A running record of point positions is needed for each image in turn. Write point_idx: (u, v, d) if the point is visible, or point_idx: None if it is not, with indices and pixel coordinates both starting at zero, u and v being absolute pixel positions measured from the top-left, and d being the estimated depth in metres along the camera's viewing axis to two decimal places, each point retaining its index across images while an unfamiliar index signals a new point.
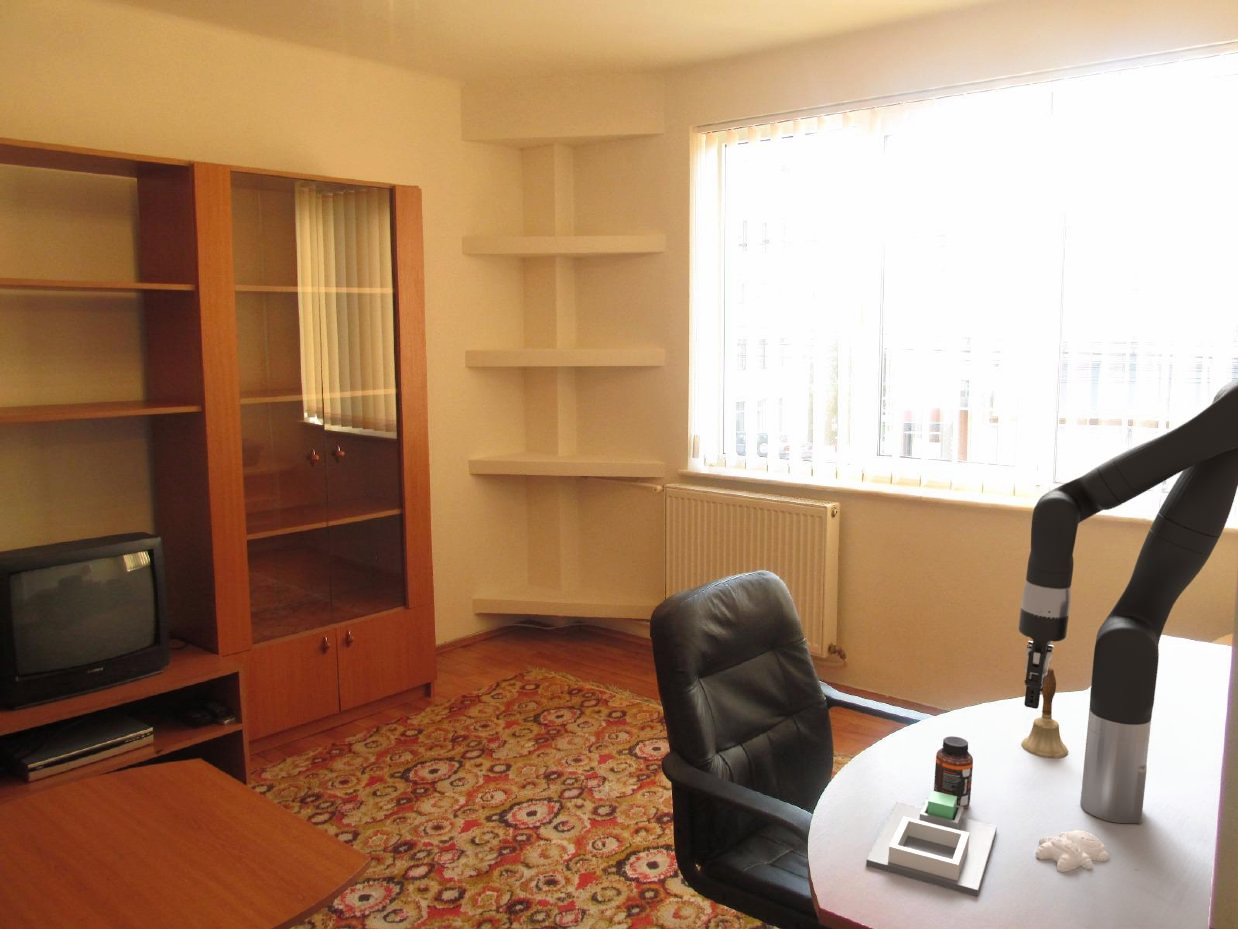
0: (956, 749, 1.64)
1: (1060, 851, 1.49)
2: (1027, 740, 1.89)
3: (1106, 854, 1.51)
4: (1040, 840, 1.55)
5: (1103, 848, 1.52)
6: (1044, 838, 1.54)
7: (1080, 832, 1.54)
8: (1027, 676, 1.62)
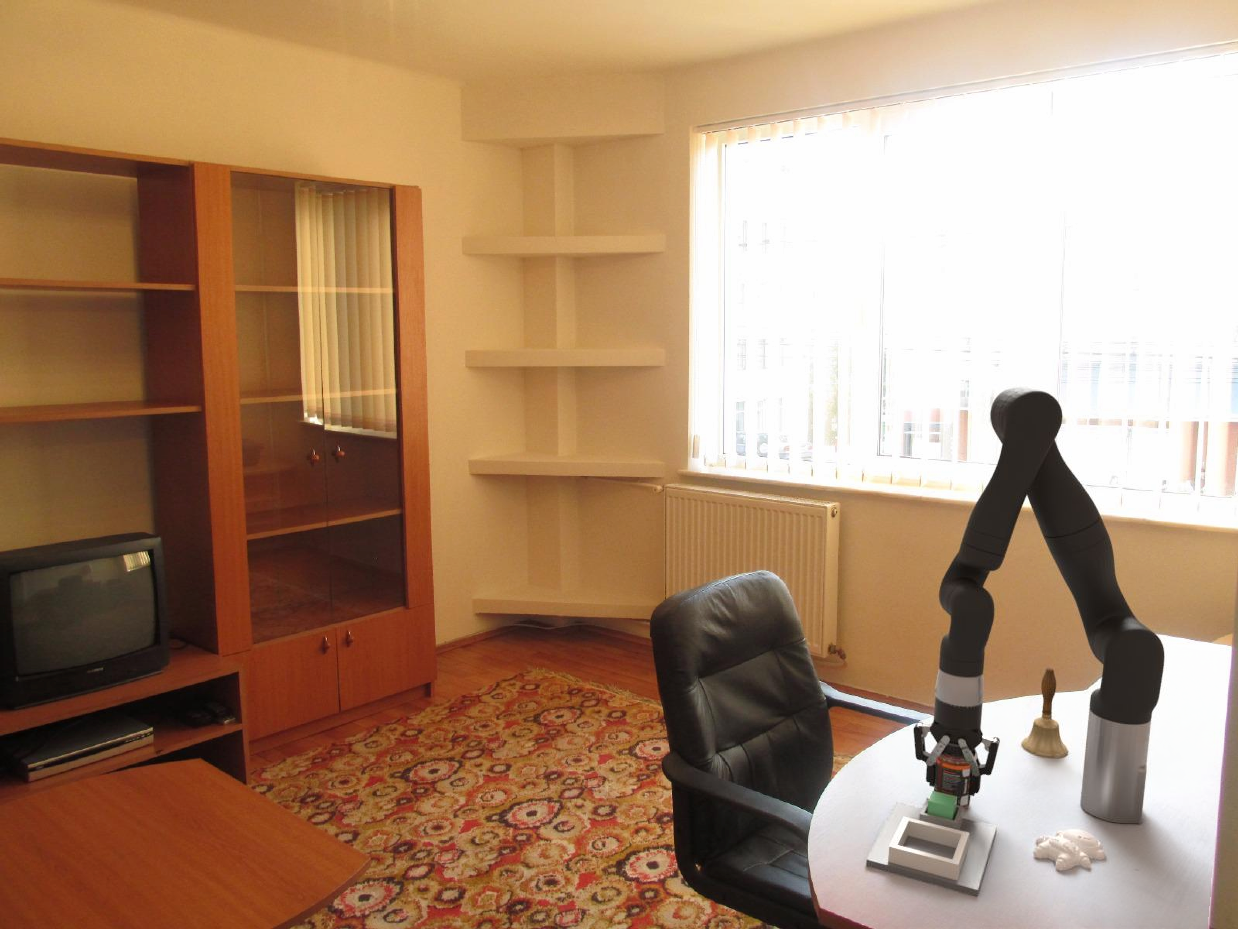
0: (956, 749, 1.64)
1: (1058, 850, 1.50)
2: (1027, 740, 1.89)
3: (1103, 852, 1.51)
4: (1037, 839, 1.55)
5: (1100, 846, 1.52)
6: (1041, 837, 1.55)
7: (1076, 831, 1.54)
8: (993, 766, 1.62)
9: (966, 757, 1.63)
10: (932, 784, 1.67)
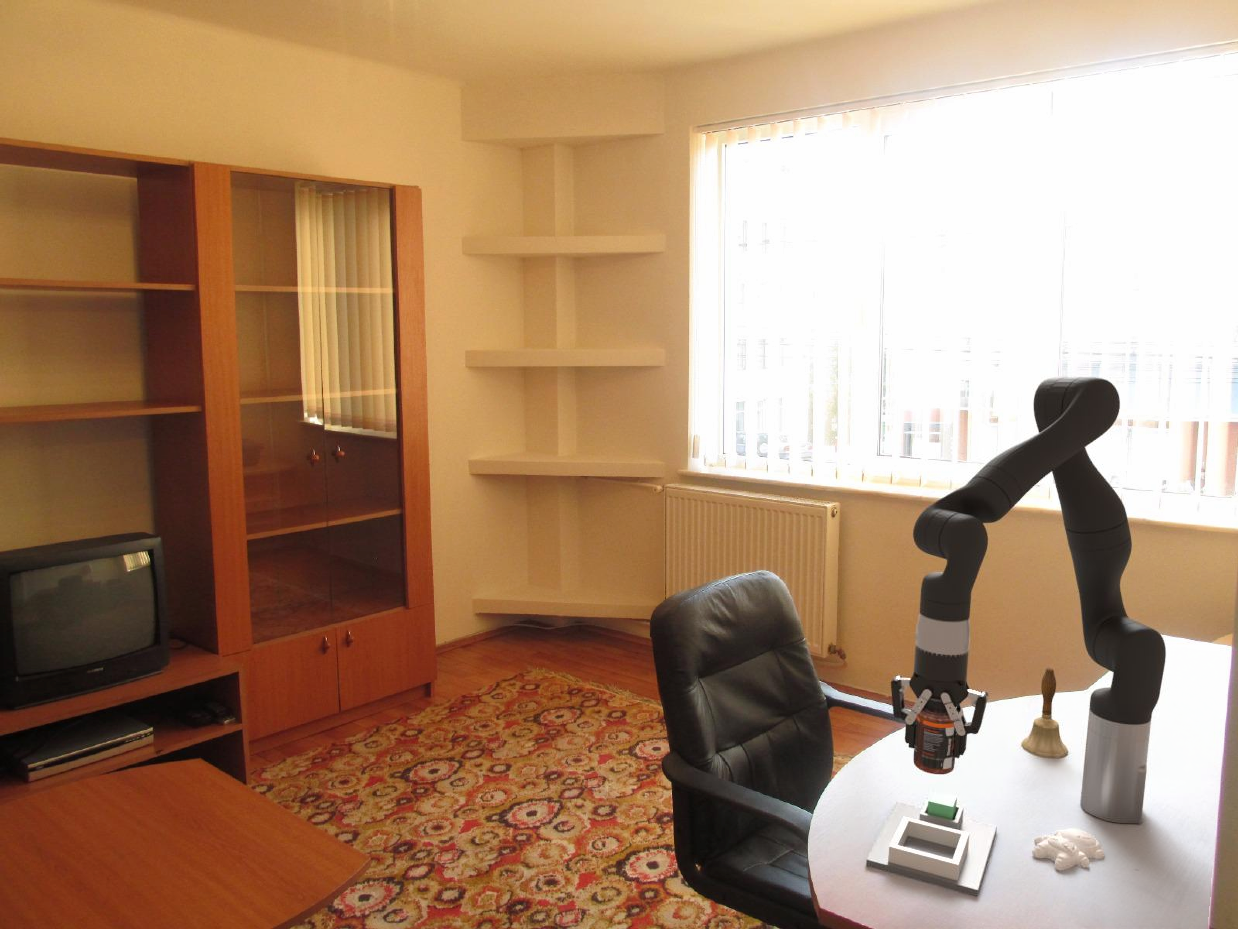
0: (938, 705, 1.44)
1: (1057, 850, 1.50)
2: (1027, 740, 1.89)
3: (1101, 852, 1.51)
4: (1036, 839, 1.55)
5: (1098, 846, 1.52)
6: (1040, 837, 1.55)
7: (1075, 831, 1.54)
8: (980, 724, 1.42)
9: (950, 713, 1.44)
10: (912, 745, 1.48)
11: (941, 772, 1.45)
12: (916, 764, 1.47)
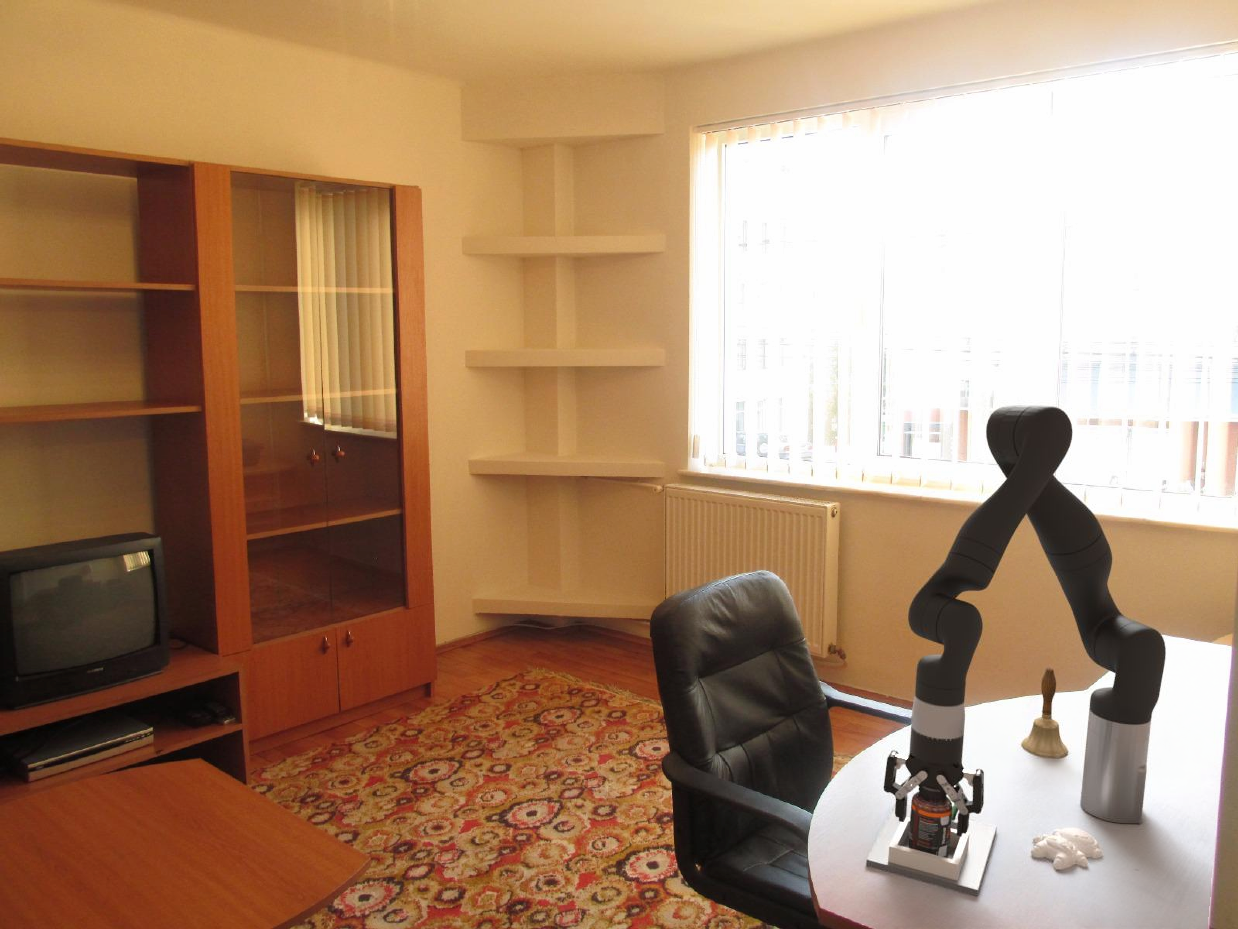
0: (933, 794, 1.46)
1: (1056, 850, 1.50)
2: (1027, 740, 1.89)
3: (1100, 851, 1.51)
4: (1034, 838, 1.55)
5: (1097, 845, 1.52)
6: (1038, 836, 1.55)
7: (1073, 830, 1.54)
8: (981, 803, 1.44)
9: (949, 795, 1.45)
10: (902, 819, 1.50)
11: None
12: None
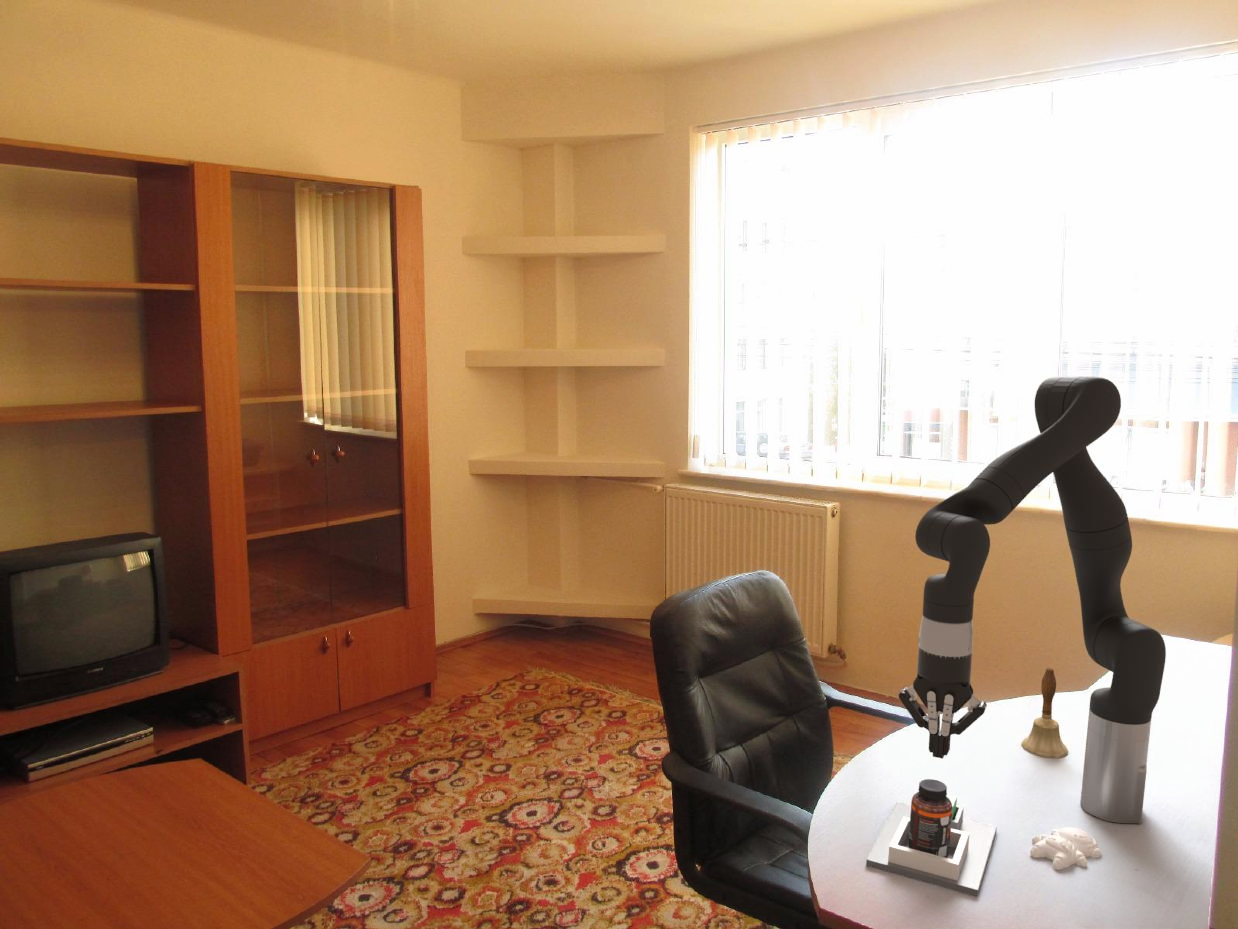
0: (933, 795, 1.46)
1: (1055, 850, 1.50)
2: (1027, 740, 1.89)
3: (1099, 850, 1.51)
4: (1033, 838, 1.55)
5: (1095, 845, 1.52)
6: (1037, 836, 1.55)
7: (1072, 830, 1.55)
8: (966, 728, 1.44)
9: (944, 714, 1.45)
10: (936, 754, 1.47)
11: None
12: None
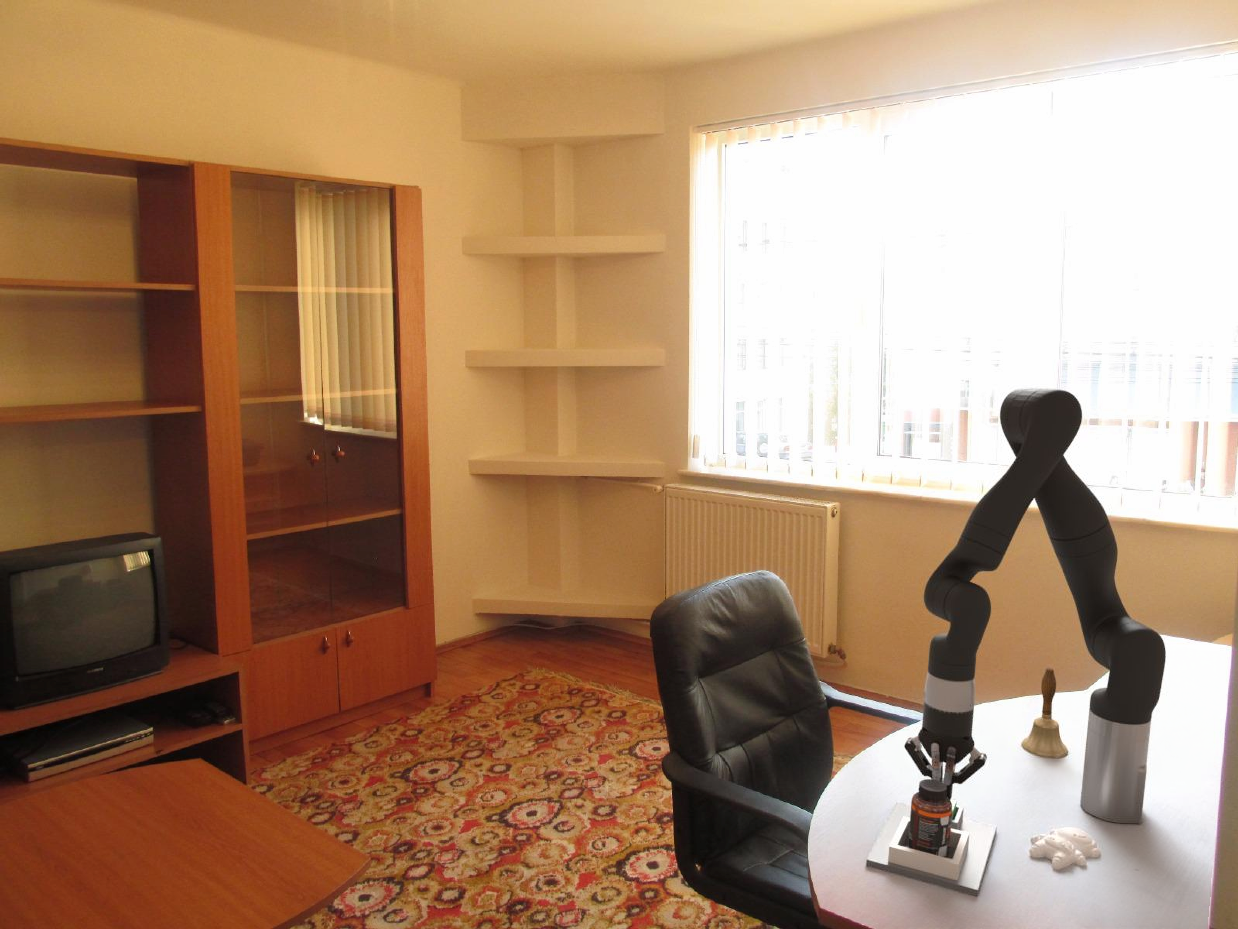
0: (933, 795, 1.46)
1: (1054, 849, 1.50)
2: (1027, 740, 1.89)
3: (1098, 850, 1.52)
4: (1032, 838, 1.55)
5: (1094, 844, 1.53)
6: (1036, 836, 1.55)
7: (1071, 829, 1.55)
8: (967, 778, 1.54)
9: (947, 764, 1.55)
10: None
11: None
12: None
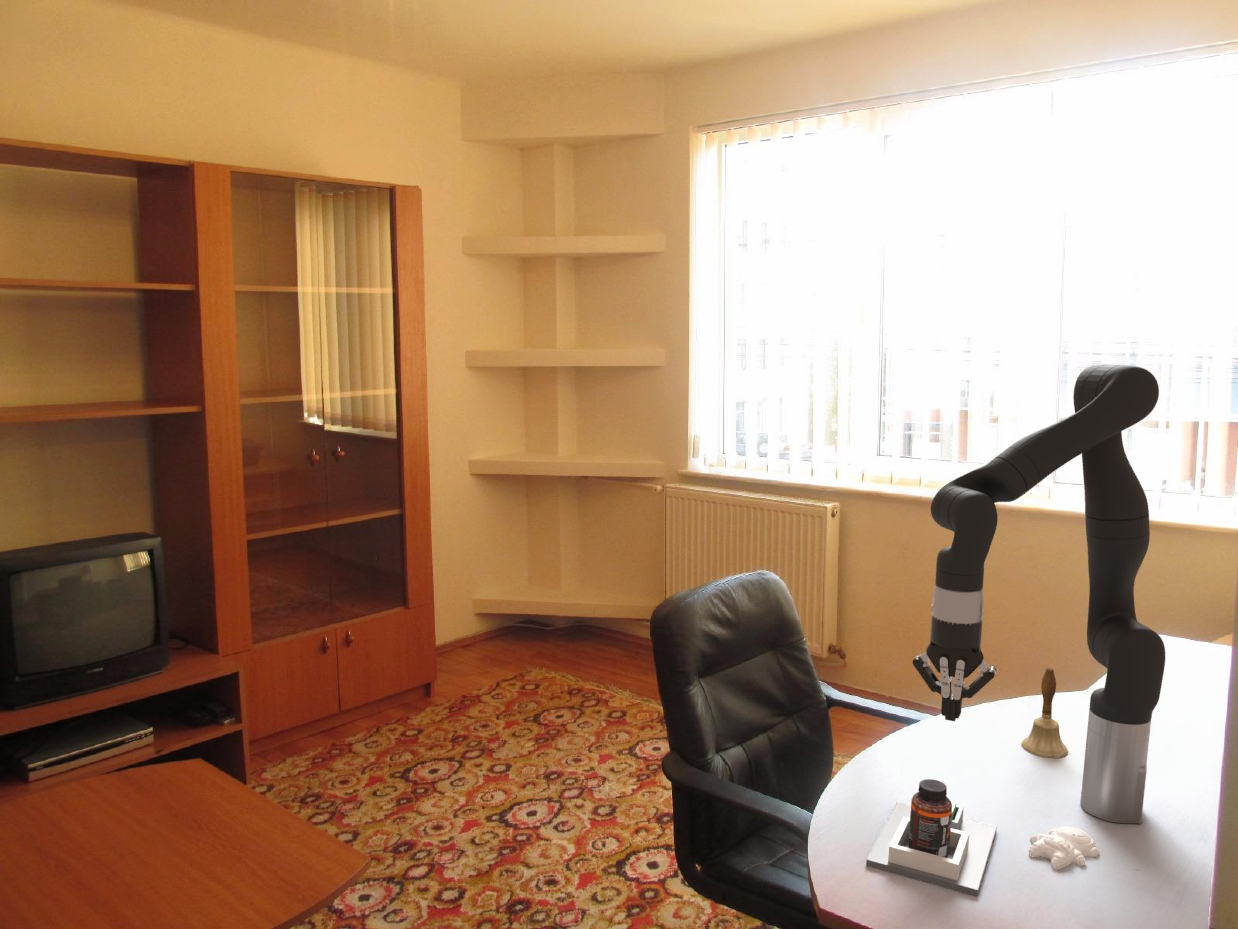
0: (933, 795, 1.46)
1: (1053, 849, 1.50)
2: (1027, 740, 1.89)
3: (1096, 849, 1.52)
4: (1031, 838, 1.55)
5: (1093, 844, 1.53)
6: (1035, 836, 1.55)
7: (1070, 829, 1.55)
8: (976, 692, 1.52)
9: (956, 678, 1.53)
10: (948, 717, 1.55)
11: None
12: None
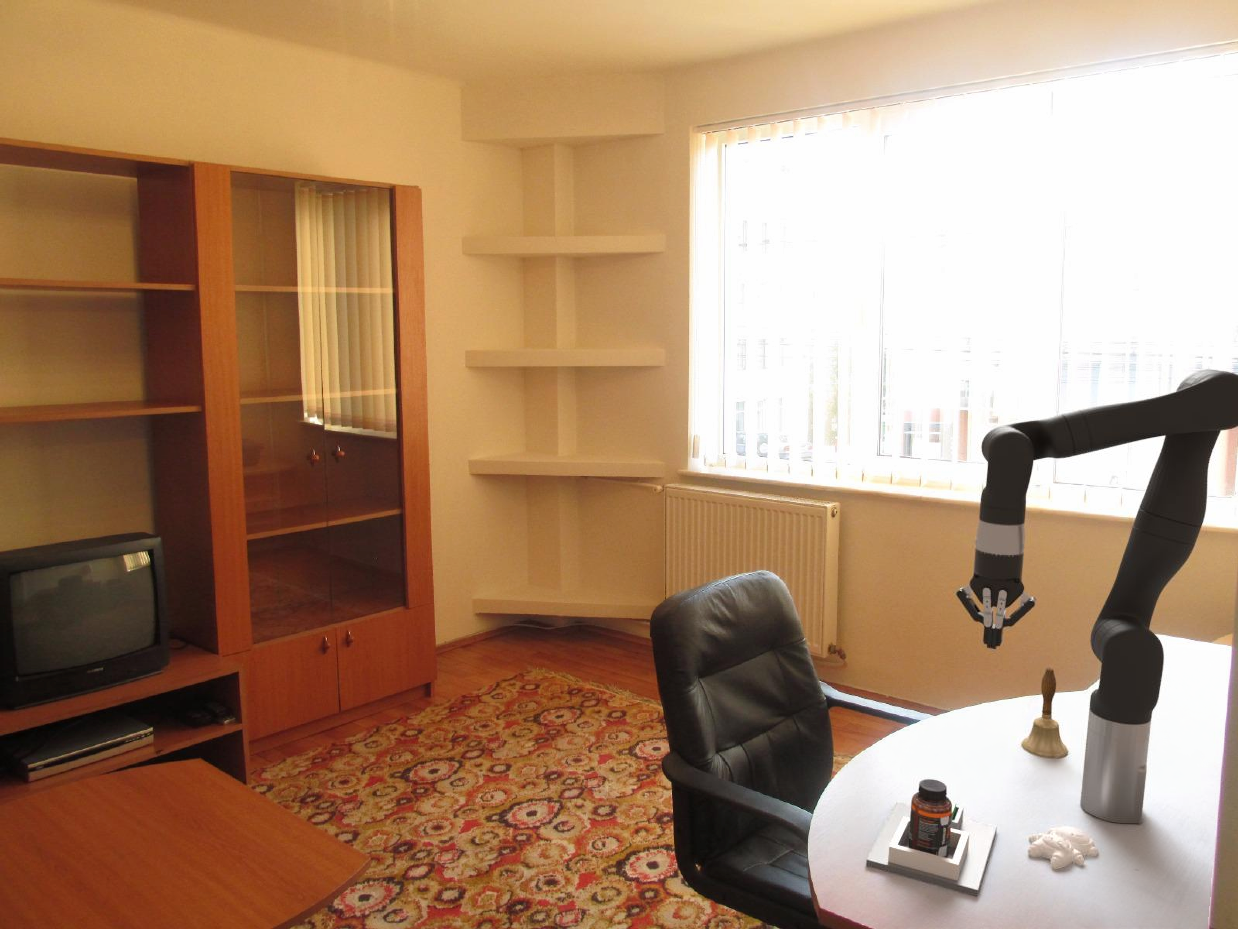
0: (933, 795, 1.46)
1: (1052, 848, 1.50)
2: (1027, 740, 1.89)
3: (1095, 849, 1.52)
4: (1030, 837, 1.55)
5: (1092, 843, 1.53)
6: (1034, 835, 1.55)
7: (1069, 829, 1.55)
8: (1017, 621, 1.62)
9: (998, 608, 1.62)
10: (990, 645, 1.64)
11: None
12: None
